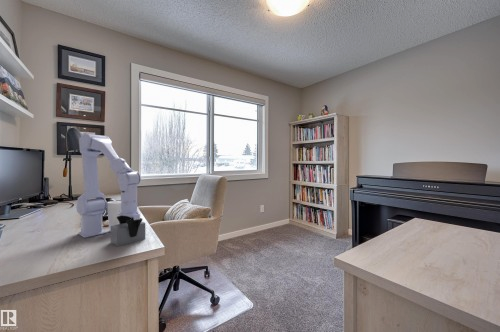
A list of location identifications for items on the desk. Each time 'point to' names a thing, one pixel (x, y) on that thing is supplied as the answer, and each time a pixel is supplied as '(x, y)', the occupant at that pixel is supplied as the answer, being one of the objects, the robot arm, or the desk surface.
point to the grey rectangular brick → (126, 234)
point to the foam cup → (113, 212)
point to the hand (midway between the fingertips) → (129, 234)
